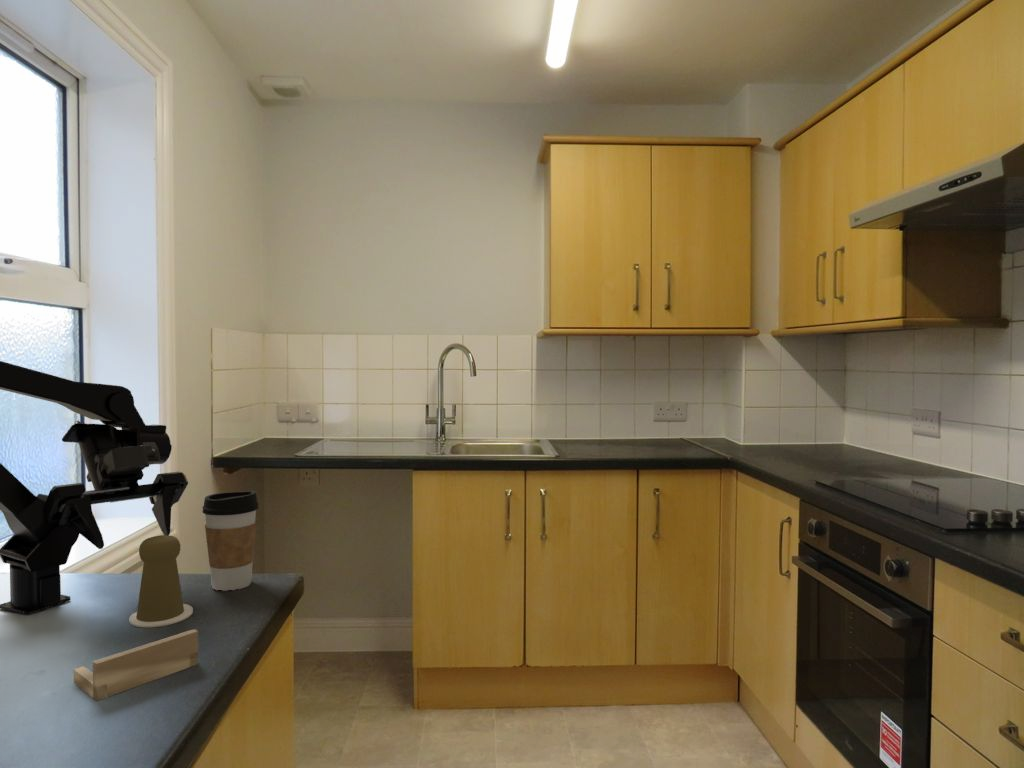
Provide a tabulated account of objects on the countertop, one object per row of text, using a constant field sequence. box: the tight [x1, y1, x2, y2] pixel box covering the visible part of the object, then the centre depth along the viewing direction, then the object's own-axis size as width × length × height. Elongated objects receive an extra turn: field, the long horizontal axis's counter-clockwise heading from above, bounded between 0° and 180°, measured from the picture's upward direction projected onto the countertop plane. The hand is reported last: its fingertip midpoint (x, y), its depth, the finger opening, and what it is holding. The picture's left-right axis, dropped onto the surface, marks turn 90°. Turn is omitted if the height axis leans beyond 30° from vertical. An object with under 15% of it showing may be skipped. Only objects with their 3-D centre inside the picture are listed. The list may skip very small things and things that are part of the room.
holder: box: [73, 628, 199, 702], centre depth 77 cm, size 6×11×4 cm, turn 142°
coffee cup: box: [202, 490, 259, 592], centre depth 107 cm, size 8×8×15 cm
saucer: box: [128, 603, 194, 628], centre depth 94 cm, size 8×8×1 cm
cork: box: [136, 534, 184, 622], centre depth 94 cm, size 6×6×11 cm
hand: (136, 540), depth 98 cm, fingers open, 9 cm apart
